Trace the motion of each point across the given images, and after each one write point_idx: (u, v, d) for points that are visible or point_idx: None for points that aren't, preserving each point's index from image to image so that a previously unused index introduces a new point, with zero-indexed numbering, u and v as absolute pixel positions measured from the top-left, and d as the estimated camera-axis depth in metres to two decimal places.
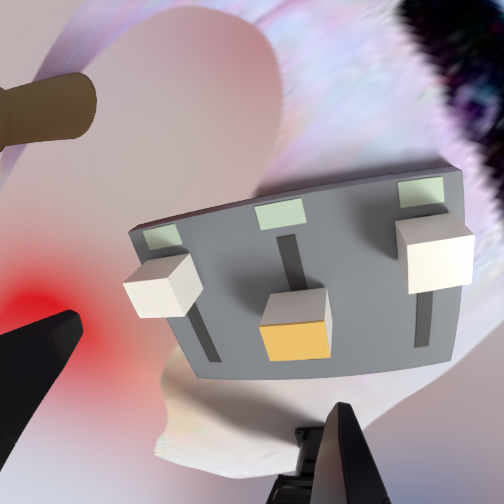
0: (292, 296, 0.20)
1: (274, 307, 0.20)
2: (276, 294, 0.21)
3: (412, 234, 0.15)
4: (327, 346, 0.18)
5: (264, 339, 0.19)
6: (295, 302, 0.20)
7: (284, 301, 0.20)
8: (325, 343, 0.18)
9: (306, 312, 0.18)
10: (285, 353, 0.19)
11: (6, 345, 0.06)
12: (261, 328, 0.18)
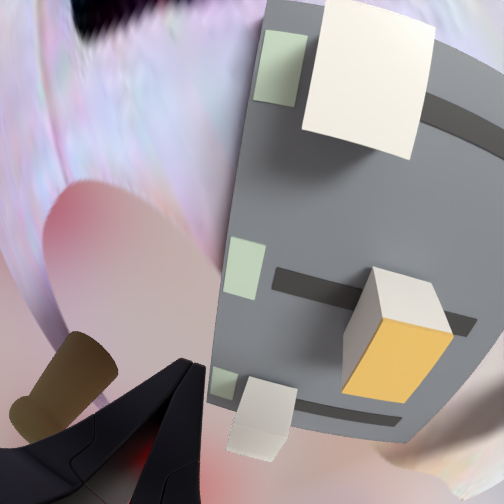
0: (355, 316, 0.13)
1: (347, 350, 0.12)
2: (346, 329, 0.14)
3: None
4: (431, 333, 0.09)
5: (364, 395, 0.11)
6: (358, 322, 0.12)
7: (352, 332, 0.13)
8: (423, 334, 0.09)
9: (367, 325, 0.11)
10: (404, 384, 0.10)
11: (124, 420, 0.06)
12: (345, 391, 0.11)
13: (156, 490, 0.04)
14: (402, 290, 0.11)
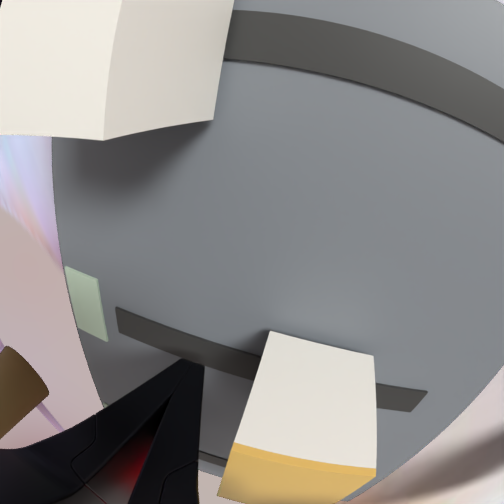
0: None
1: None
2: None
3: None
4: (329, 472, 0.05)
5: None
6: None
7: None
8: (314, 472, 0.05)
9: None
10: None
11: (125, 421, 0.06)
12: (220, 495, 0.07)
13: (154, 489, 0.04)
14: (306, 379, 0.07)
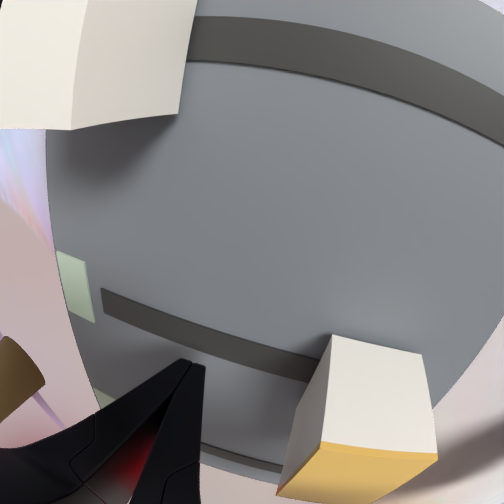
0: (307, 396, 0.09)
1: (292, 440, 0.08)
2: (299, 404, 0.10)
3: None
4: (401, 459, 0.05)
5: (308, 500, 0.07)
6: (306, 411, 0.08)
7: (300, 416, 0.09)
8: (389, 460, 0.05)
9: (309, 431, 0.07)
10: (362, 496, 0.06)
11: (124, 420, 0.06)
12: (280, 495, 0.07)
13: (156, 490, 0.04)
14: (371, 378, 0.07)
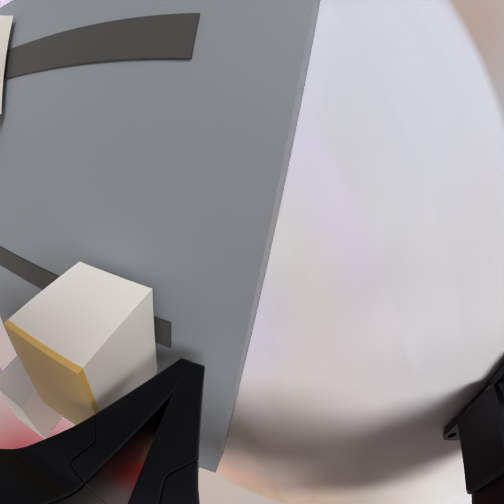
0: None
1: None
2: None
3: None
4: (48, 356, 0.06)
5: (63, 415, 0.08)
6: None
7: None
8: (42, 354, 0.06)
9: None
10: (85, 419, 0.07)
11: (125, 421, 0.06)
12: (45, 402, 0.08)
13: (155, 490, 0.04)
14: (78, 293, 0.08)
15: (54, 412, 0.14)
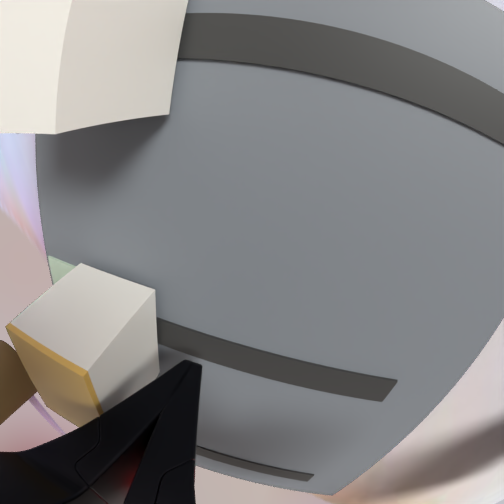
0: None
1: None
2: None
3: None
4: (52, 360, 0.06)
5: (66, 418, 0.08)
6: None
7: None
8: (45, 357, 0.06)
9: None
10: None
11: (129, 423, 0.06)
12: (47, 405, 0.08)
13: (151, 488, 0.04)
14: (81, 295, 0.08)
15: None
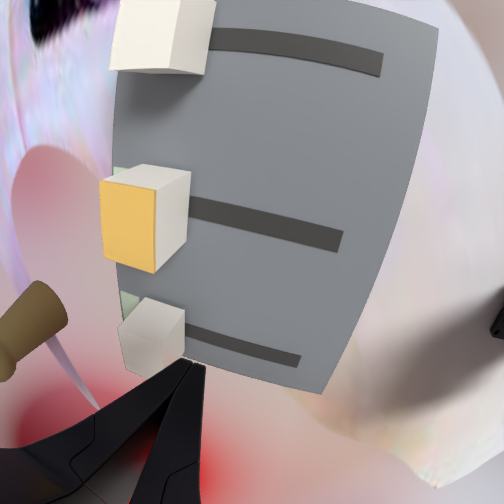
0: None
1: None
2: None
3: None
4: (133, 188, 0.12)
5: (119, 261, 0.14)
6: None
7: None
8: (128, 189, 0.12)
9: None
10: (141, 248, 0.13)
11: (124, 420, 0.06)
12: (105, 255, 0.14)
13: (156, 490, 0.04)
14: (146, 172, 0.14)
15: (175, 356, 0.19)
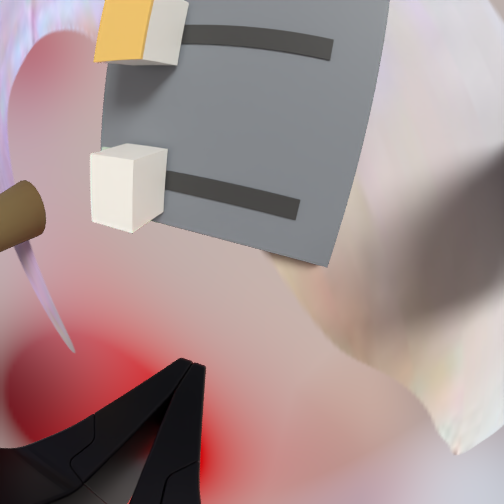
0: None
1: None
2: None
3: None
4: None
5: (108, 58, 0.11)
6: None
7: None
8: None
9: None
10: (132, 36, 0.11)
11: (124, 420, 0.06)
12: (95, 59, 0.11)
13: (156, 490, 0.04)
14: None
15: (150, 203, 0.17)
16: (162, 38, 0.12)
